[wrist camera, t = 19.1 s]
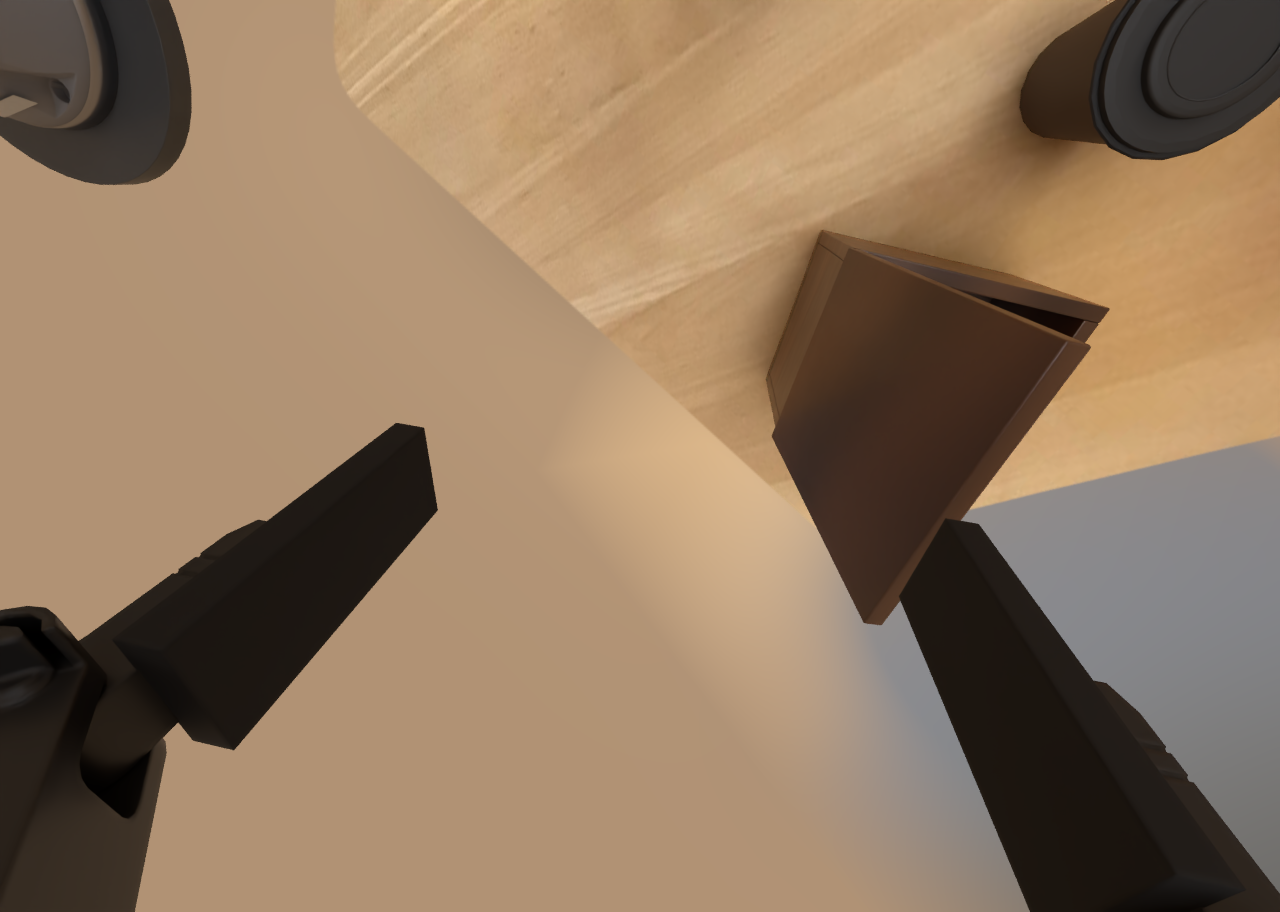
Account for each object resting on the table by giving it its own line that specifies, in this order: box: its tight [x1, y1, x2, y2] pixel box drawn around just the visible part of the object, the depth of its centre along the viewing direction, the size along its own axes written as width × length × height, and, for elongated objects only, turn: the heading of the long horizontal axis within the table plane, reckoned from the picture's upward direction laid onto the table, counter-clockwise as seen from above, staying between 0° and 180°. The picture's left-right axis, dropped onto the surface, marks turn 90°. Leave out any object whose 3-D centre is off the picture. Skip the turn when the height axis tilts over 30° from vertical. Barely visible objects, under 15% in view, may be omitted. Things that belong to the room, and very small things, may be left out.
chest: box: [766, 230, 1109, 427], centre depth 31 cm, size 14×12×10 cm
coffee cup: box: [1020, 0, 1280, 160], centre depth 23 cm, size 8×8×10 cm
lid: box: [772, 248, 1091, 625], centre depth 21 cm, size 14×12×1 cm
